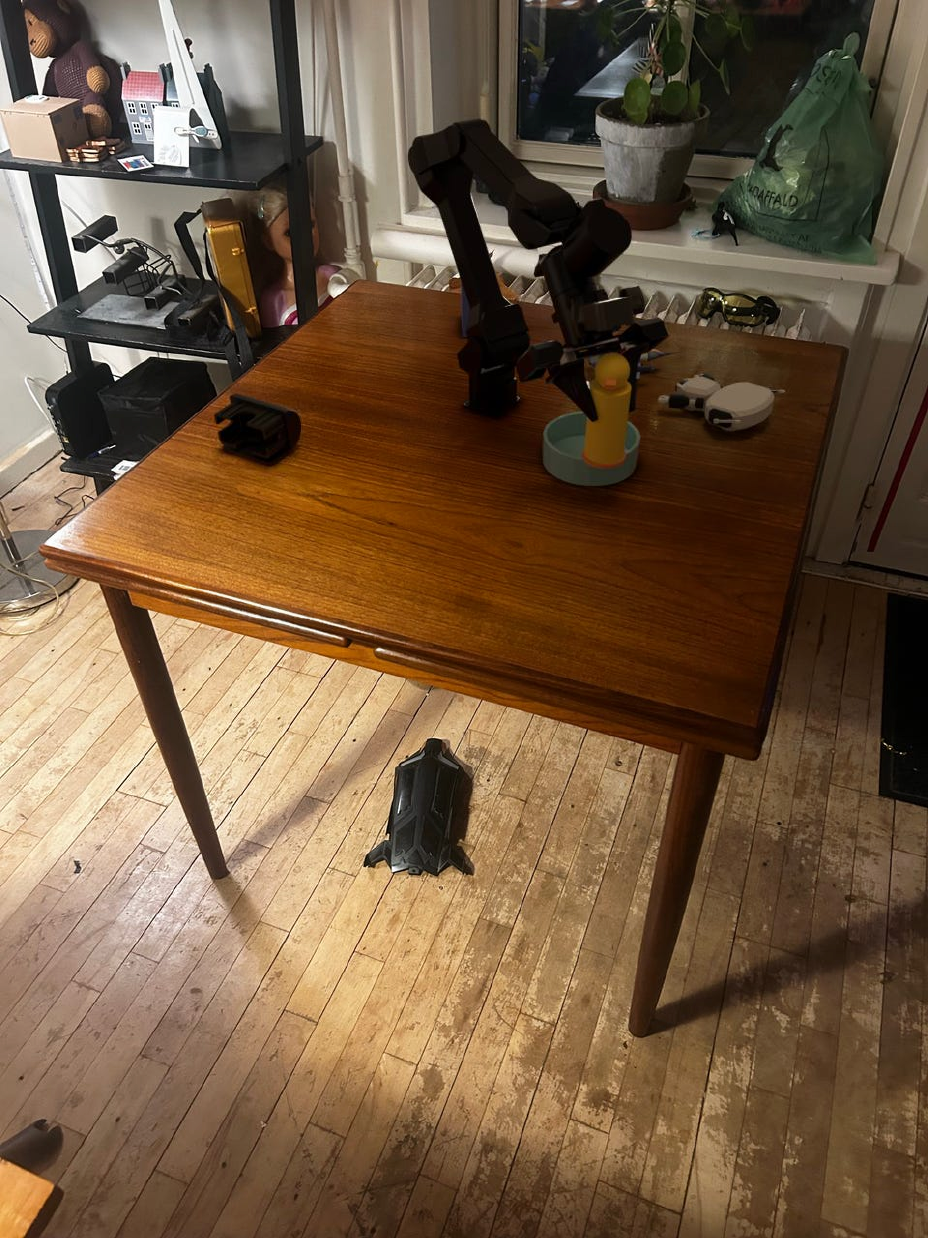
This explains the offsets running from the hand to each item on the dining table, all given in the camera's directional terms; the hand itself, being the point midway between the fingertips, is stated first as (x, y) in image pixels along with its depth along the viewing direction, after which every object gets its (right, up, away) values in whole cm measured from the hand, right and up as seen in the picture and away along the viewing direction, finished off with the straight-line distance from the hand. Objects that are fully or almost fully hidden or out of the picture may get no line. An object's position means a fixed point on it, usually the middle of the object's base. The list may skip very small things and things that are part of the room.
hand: (613, 416), depth 113 cm
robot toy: (+19, +5, +24) cm, 31 cm away
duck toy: (-1, -4, +5) cm, 7 cm away
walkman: (-17, +26, +49) cm, 58 cm away
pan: (-1, -3, +16) cm, 16 cm away
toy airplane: (+8, +14, +35) cm, 38 cm away
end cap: (-47, 0, +20) cm, 51 cm away
